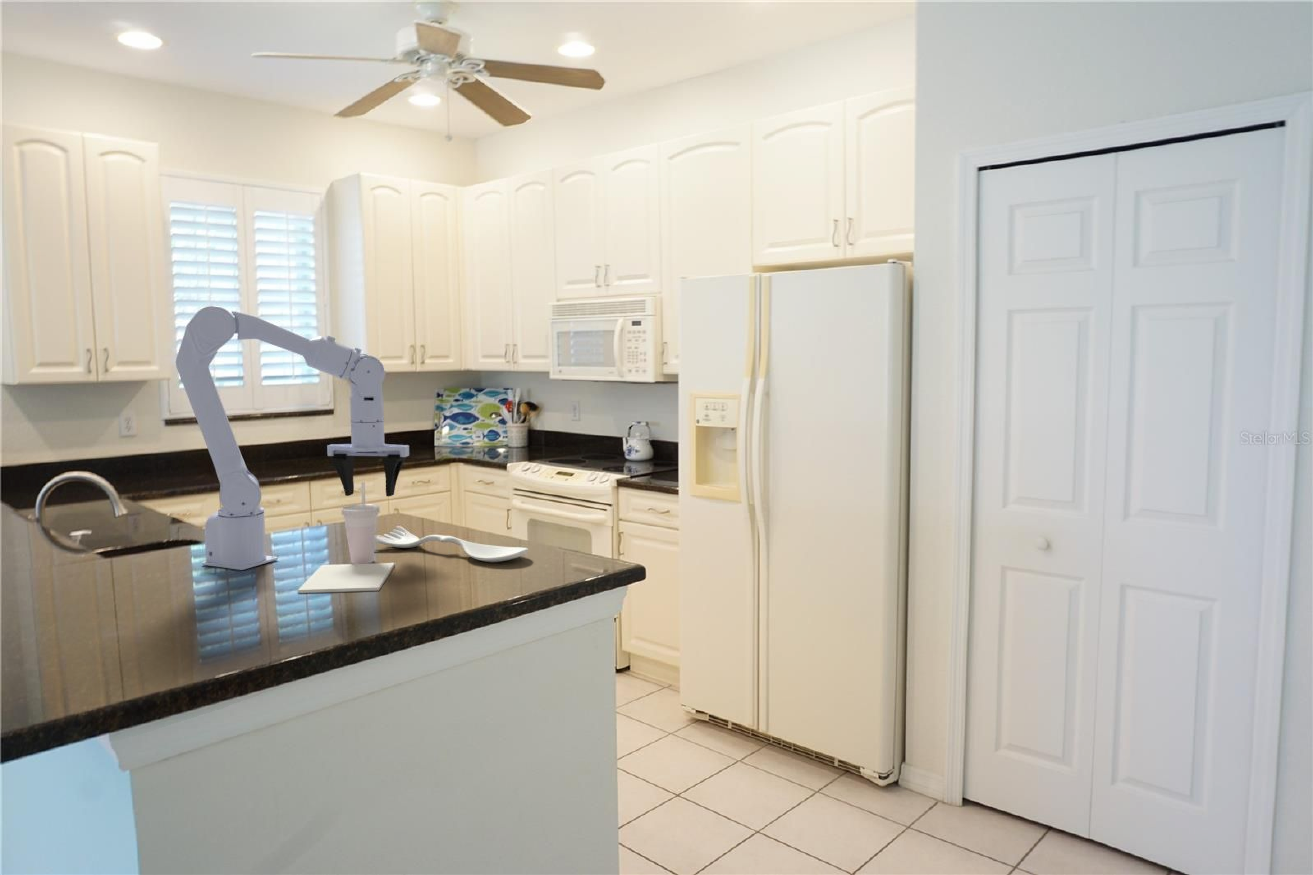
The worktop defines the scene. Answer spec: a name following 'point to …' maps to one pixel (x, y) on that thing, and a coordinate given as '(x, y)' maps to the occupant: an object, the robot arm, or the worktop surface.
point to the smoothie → (361, 530)
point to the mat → (347, 578)
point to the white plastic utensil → (472, 549)
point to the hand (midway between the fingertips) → (369, 495)
